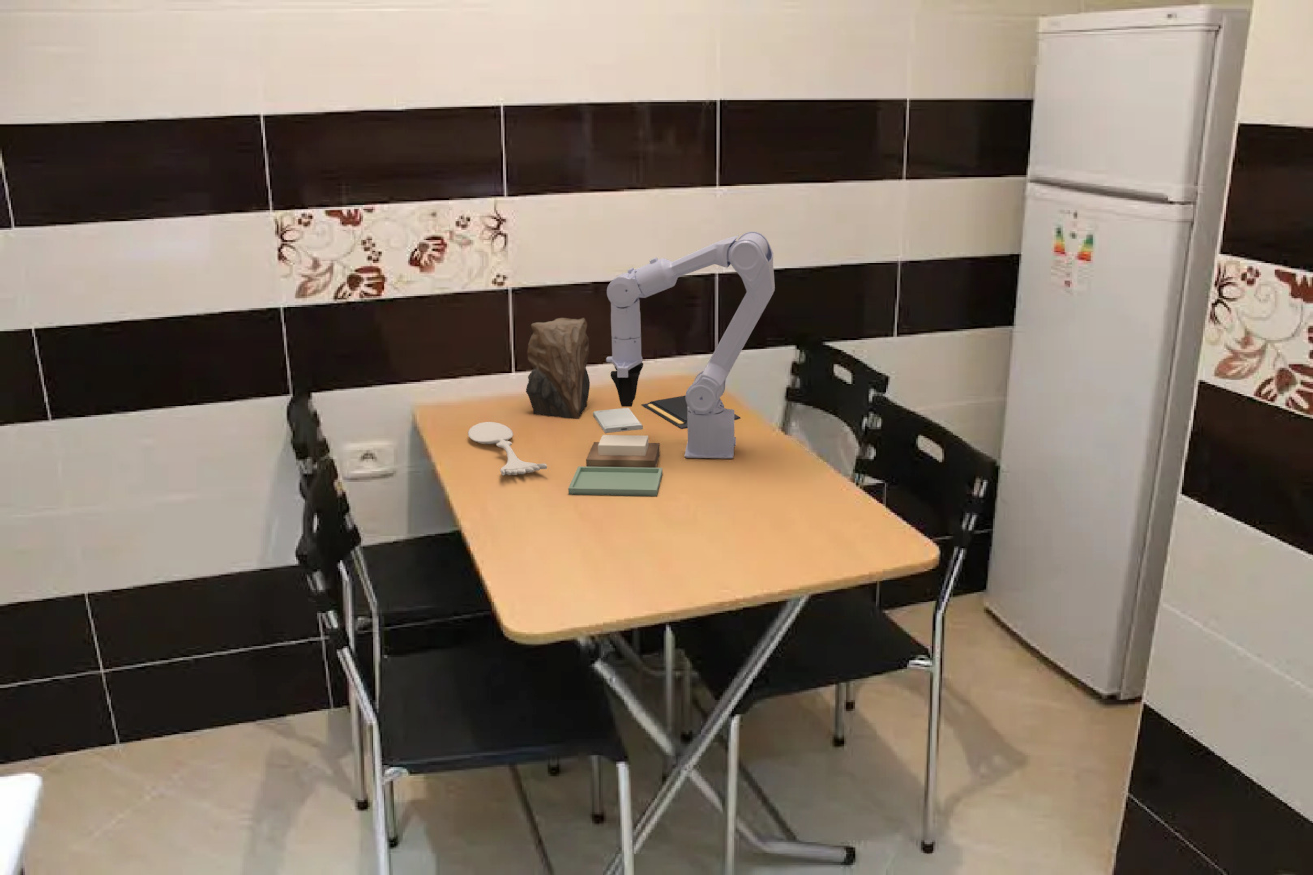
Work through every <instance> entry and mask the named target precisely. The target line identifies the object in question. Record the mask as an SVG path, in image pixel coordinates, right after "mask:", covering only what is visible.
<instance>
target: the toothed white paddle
mask: <svg viewBox="0 0 1313 875" xmlns="http://www.w3.org/2000/svg"><path fill="white" fill-rule="evenodd" d="M467 436H468V437H469V439H471V440H472V441H473V442H476V443H479V444H484V445H496V446H497V447H498V448H502V449H504V450H505V453H506V455H507V461H506V464H505V465H503V466H502V467H501V468H500V469H499V471H500V474H501V475H502V476H505V475H506V476H512V475H513V476H517V475H525V474H526V473H528V474H530V473H534V472H538V471H540V470H547V469H548V465H547V463H535V462H528V461H523V460H521V459H519V457H517V455H516V453H515V452H514V450H513V449H512V447H511V446H512V444H513V442H512V441H509V440H510V439H511V438H513V436H514V432H513V430H512V429H511V428H510V427H509V426H508V425H505V424H503V423H499V422H494V421H486V422H485V421H483V422H479V423H477V424H474V425H473V426H471V427H470V428H469V429H468V431H467Z"/></svg>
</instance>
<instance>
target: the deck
mask: <svg viewBox="0 0 1313 875" xmlns="http://www.w3.org/2000/svg"><path fill="white" fill-rule="evenodd" d="M599 442H600V441H594V442H593V444H592V446H591V448H590V450H589V452H588V453H587V457H586V459H585V467H646V468H658V467H657V466H658V462H659V458H660V454H661V448H660V442H649V446H648V449H647V452H646V455H645V456H622V455H598V444H599Z"/></svg>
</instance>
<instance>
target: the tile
mask: <svg viewBox="0 0 1313 875" xmlns="http://www.w3.org/2000/svg"><path fill="white" fill-rule="evenodd" d="M649 440H650V438H649V435H641V434H640V435H637V434H634V435H631V434H629V435H627V434H626V435H625V434H623V435H621V434H602V436H601V438H600V440H599V441H598V442H599V444H598V455H622V456H645V455H646V452H647V449H648V446H649V443H650V442H649Z"/></svg>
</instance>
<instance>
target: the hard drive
mask: <svg viewBox="0 0 1313 875" xmlns="http://www.w3.org/2000/svg"><path fill="white" fill-rule="evenodd" d="M592 416H593V418H594V419H595V420H596V422H597V424H598V425H599V427H600V428H601V429H602V431H603V432H604V433H605V434H609V433H620V432H628V431H641V430H644V427H643V424H642V422H641V421H640V420H639V419H638V417H637V416H636V415H635V414H634V413H633V411H632V410H631V408H629V407H622V408H612V409H611V408H609V409H603V410H602V409H600V410H595V411H593V412H592Z"/></svg>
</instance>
